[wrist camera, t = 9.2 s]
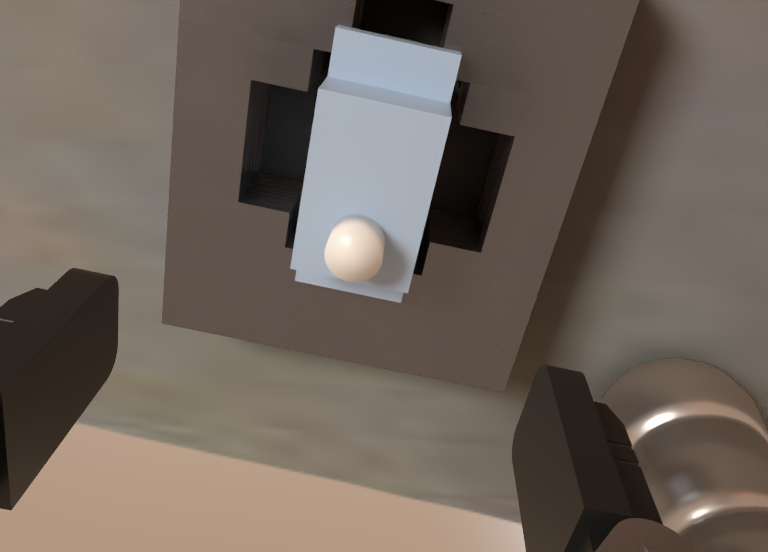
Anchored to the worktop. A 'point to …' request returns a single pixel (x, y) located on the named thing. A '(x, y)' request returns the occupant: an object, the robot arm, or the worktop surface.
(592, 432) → the robot arm
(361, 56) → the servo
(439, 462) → the worktop surface
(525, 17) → the block with stepped hole
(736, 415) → the plastic bottle
